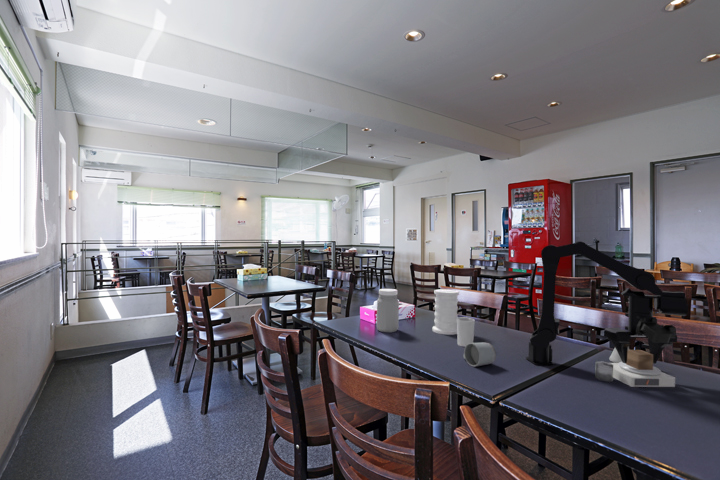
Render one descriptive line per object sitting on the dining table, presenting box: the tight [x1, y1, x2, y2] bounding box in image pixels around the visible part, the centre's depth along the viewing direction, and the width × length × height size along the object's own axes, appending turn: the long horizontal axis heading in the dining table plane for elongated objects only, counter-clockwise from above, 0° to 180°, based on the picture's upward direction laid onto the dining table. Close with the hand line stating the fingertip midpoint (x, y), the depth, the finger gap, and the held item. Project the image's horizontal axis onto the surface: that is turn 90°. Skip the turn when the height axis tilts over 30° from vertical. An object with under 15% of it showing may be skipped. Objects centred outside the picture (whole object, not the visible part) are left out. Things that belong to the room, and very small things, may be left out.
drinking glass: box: [456, 316, 476, 348], centre depth 138 cm, size 7×7×10 cm
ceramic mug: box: [462, 341, 497, 368], centre depth 118 cm, size 10×8×7 cm
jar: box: [376, 288, 400, 333], centre depth 158 cm, size 10×10×18 cm
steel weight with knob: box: [594, 360, 614, 382], centre depth 107 cm, size 4×4×5 cm
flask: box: [608, 345, 631, 363], centre depth 122 cm, size 7×7×10 cm
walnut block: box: [626, 349, 654, 370], centre depth 107 cm, size 4×4×4 cm
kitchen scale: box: [610, 362, 676, 388], centre depth 107 cm, size 13×12×4 cm
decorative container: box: [431, 288, 460, 336], centre depth 158 cm, size 12×12×18 cm
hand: (639, 363), depth 107 cm, fingers open, 9 cm apart
